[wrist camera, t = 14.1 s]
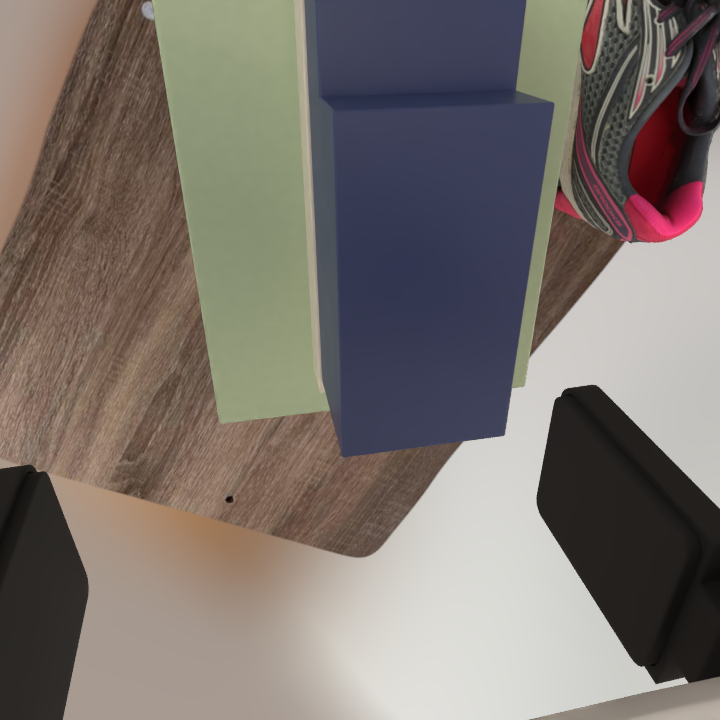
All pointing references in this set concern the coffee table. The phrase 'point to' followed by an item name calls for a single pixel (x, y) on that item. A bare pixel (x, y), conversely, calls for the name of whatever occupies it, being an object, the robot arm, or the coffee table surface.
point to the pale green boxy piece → (293, 185)
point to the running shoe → (642, 117)
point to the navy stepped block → (417, 213)
